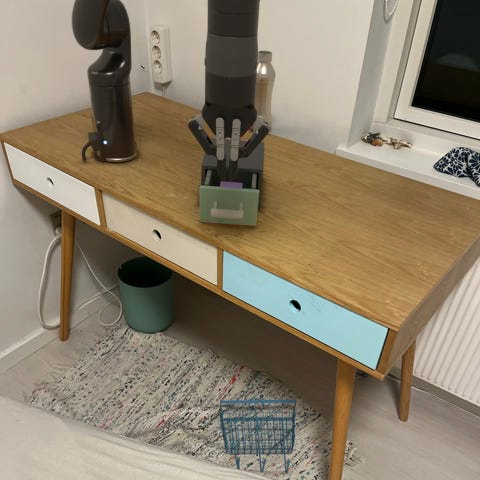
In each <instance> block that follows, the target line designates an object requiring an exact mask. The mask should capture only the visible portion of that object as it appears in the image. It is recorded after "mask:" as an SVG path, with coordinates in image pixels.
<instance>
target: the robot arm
mask: <svg viewBox="0 0 480 480" xmlns="http://www.w3.org/2000/svg"><path fill="white" fill-rule="evenodd" d="M260 4H261V0H207V18H206V19H207V20H206V21H207V22H206V23H207V25H206V26H207V28H206V29H207V30H206V31H207V32H206V41H205V47H204V48H205V49H204V50H205V51H204V52H205V54H204V63H203V64H204V105H203V106H202V108H201V111H200V113H199V114H197V115H196V116H191V117H190V118H189V120H188V123H187V128H188V129H189V131H190V132H191V134H192V135H193V136H194V138H195V139H196V141H197V143H198V144H199V145H200V147H201V148H202V150H203V151H204V153H205V152H206V154H207V155H213V156H215V157H216V158H217V176H218V177H220V178H221V181H225V179H226V159H227V155H225V139H226V138H227V139H228V138H229V139H230V140H231V155H230V158H229V174H228V182H232V181H233V179H236V177H237V171H238V160H239V159H240V158H243V157H244V158H247V157H249V155H250V154H251V153H252V152H253V151H254V150H255V148H256V147H257V146H258V145H259V144H260V142H263V140H264V139H265V138H266V137H267V136H268V134H269V132H270V128H269V124H268V123H267V122H263V121H262V120H260V119H259V118H258V117H257V111H256V109H255V91H256V77H257V67H258V51H259V41H258V39H259V34H258V33H259V20H260ZM71 11H72V12H71V30H72V35H73V37H74V39H75V41H76V43H77V44H78V45H79V46H80V47H81V48H82V49H84V50H88V51H100V50H102V51H101V54H100V55H99V56H98V58H97V59H96V60H95V61H94V62H92V64H90V65H89V66H88V67H87V70H86V71H87V72H86V74H87V81H88V88H89V96H90V105H91V111H92V113H91V114H90V117H91V124H92V130H93V131H92V132H87V138H88V142H86V143H85V144H84V146H83V147H82V149H81V160H82V161H87V156H86V152H87V150H88V148H89V147H90V148H91V149H92V152H95V153H96V155H97V157H98V158H99V160H100V162H102V163H105V162H106V163H107V162H108V163H125V162H130V161H132V160H134V159H136V157H137V155H138V154H137V153H138V151H137V144H138V143H137V141H136V134H135V124H134V123H135V122H134V112H133V111H134V110H133V99H132V87H131V72H132V68H133V67H132V66H133V60H132V59H133V57H132V29H131V22H130V17H129V13H128V10H127V8H126V6H125V4H124V3H123V2H122V0H74V2H73V6H72V10H71ZM205 123H206V124H205ZM253 124H254V128H253V130H252V133H253V134H251V136H250V137H249V138H248V140H246V141H247V142H246V143H245V145H244V146H243V147H240V148H239V142H240V140H241V138H242V137H244V136H245V134H246V133H247V132H248V131H249V130H250V129H251V128H250V127H251V126H252V125H253ZM206 125H207V126H208V128H209V129H210V131H211V132H212V134H213V135H214V136H215V139H216V145H214V143H213V142H212V140H211V139H210V138H211V137H210V136H209V134H208V133H207V131H206V130H205V126H206Z"/></svg>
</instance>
